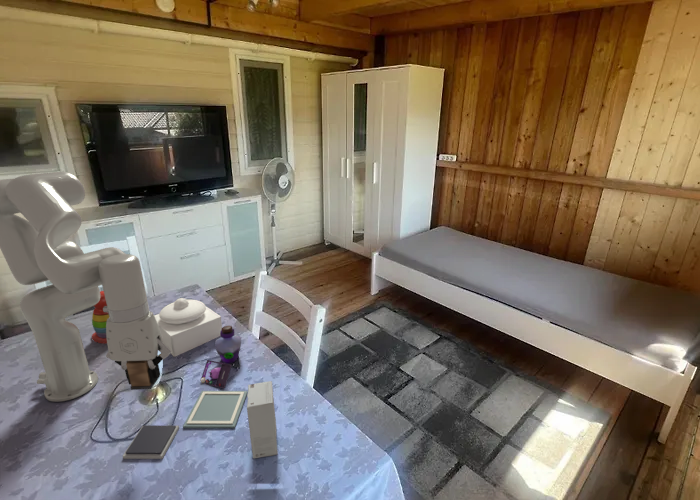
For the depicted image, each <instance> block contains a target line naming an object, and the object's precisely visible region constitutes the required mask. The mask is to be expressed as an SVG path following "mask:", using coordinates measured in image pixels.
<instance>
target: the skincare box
mask: <svg viewBox="0 0 700 500" xmlns="http://www.w3.org/2000/svg"><path fill="white" fill-rule="evenodd" d="M247 386H248V387H247V388H248V390H247V392H248V393H247V396H246V398H247V405H246V411H247V419H248V421H247V422H248V428H249V429H248V430H249V436H250V437H249V438H250V443H251V453H252V459H258V458H264V457H272V456H277V455H278V443H277V420H276V410H275V409H276V408H275V400H274V399H275V398H274V391H273V390H274V389H273V381H272V380H271V381H270V380H269V381H263V382H257V383H252V384H248V385H247Z"/></svg>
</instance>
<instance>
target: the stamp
mask: <svg viewBox="0 0 700 500" xmlns="http://www.w3.org/2000/svg"><path fill="white" fill-rule="evenodd" d="M126 366H127V370H128V374H129V378H130V382H131V385H130V391H133V390H134V391H137V390H139V391H140V390H152V388H154V385H155V384H156V383H157V381H158V380H159V378H160V376H161V375H160V376H159V378H158V379H157V380H156V382H155V383H154V384H151V383H150V378H149V374H148V369H149V368H150V367H149V365H148V363H147V361H128V362H127V363H126Z"/></svg>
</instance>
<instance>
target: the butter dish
mask: <svg viewBox="0 0 700 500" xmlns="http://www.w3.org/2000/svg"><path fill="white" fill-rule="evenodd" d="M154 316H155V318H156V321H157V323H158V326H159V329H160V332H161V336H162V341H163V344H164V345H165V346H166V347H168V348H169V349H170V350H171V353H170V355H172V356H173V358H175V357H178V356H179V355H182V354H184V353H186V352H189V351H191V350H192V349H195V348H197V347H199V346H202V345H203V344H206V343H209V342H210V341H213V340H214V339H215V340H216V339H218V338H220V337H221V335H220V332H221V330H222V328H223V323H222V316H221V315H219V314H218V313H217V312H215V311H214V310H212V309H211V308H209V307H208V306H206V304H205V303H204V302H202V301H200V300H197V299H186V298H184V297H181V298H177V299H176V300H175V301H174V302H172V303H169V304H168V305H166V306H164V307H163V308H162V309H161V310H160V311H159V313H157V314H155V315H154Z"/></svg>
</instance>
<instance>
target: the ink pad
mask: <svg viewBox="0 0 700 500" xmlns="http://www.w3.org/2000/svg"><path fill="white" fill-rule="evenodd" d="M179 429H180V425H155V424H154V425H142V426H141V427H140V429H139V431H137V433H136V435H135V437H133V439H132V441H131V442H130V444H129V445H128V447H127V448H126V450H125V451H124V453H123V455H122V459H125V460H127V459H129V460H136V459H138V460H141V459H142V460H143V459H144V460H151V459H152V460H156V459H157V460H159V459H160V460H163V459H164V457H165V454H166V453H167V451H168V450H169V448H170V446H171V444H172V442H173V441H174V438H175V437H176V436H177V433H178V431H179Z"/></svg>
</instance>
